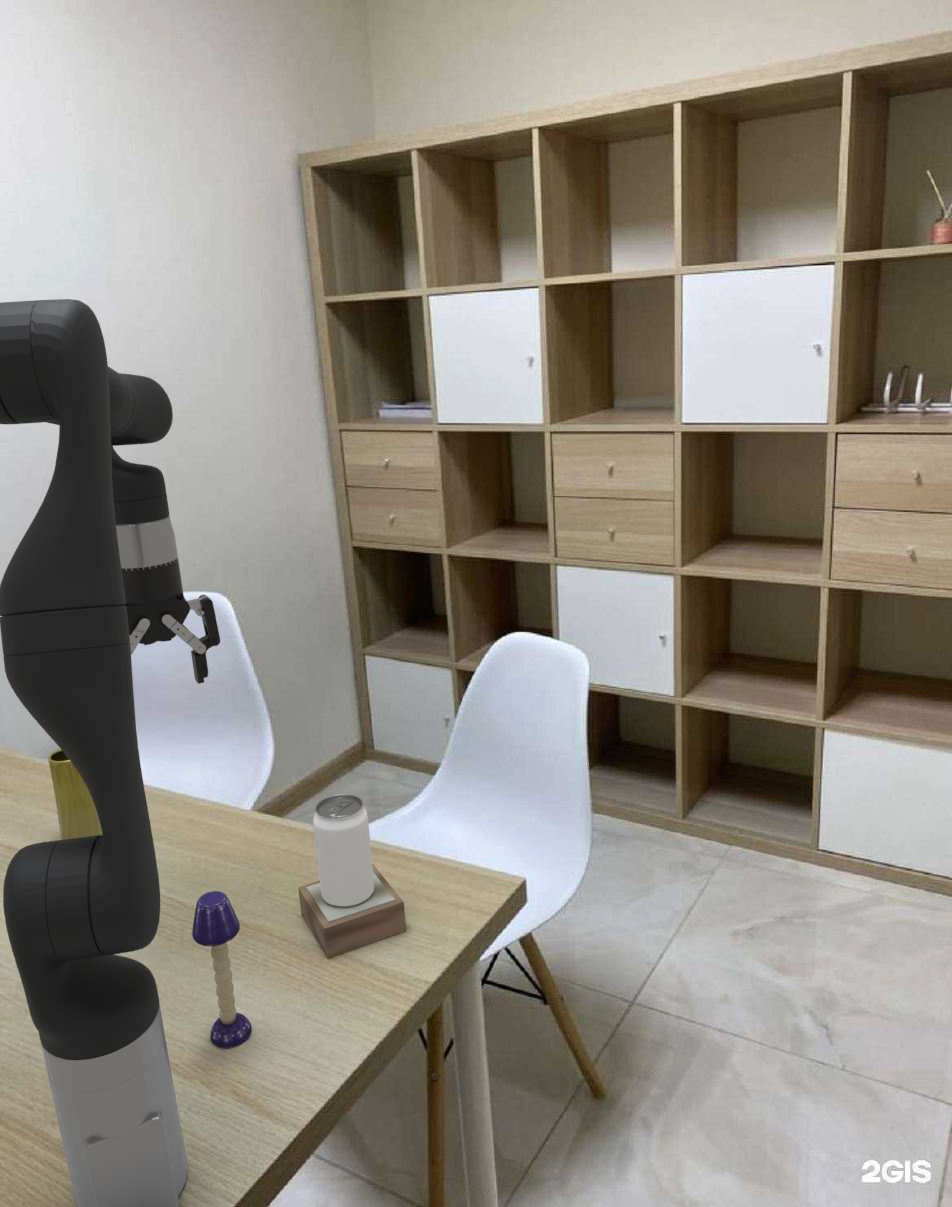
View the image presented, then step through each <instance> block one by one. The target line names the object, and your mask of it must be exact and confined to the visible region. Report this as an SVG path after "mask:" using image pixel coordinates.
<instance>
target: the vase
mask: <svg viewBox="0 0 952 1207" xmlns="http://www.w3.org/2000/svg"><path fill="white" fill-rule="evenodd" d="M48 765H49V769H50V770H49V771H50V774H51V780H52V786H53V787H52V788H53V792H54V797H55V798H54V800H55V804H56V810H57V811H56V813H57V819H58V825H59V831H60V832H59V833H60V837H61V838H60V840H65V839H73V838H80V837H88V836H96V835H103V834H102V829H101V825H100V821H99V818H98V814H97V811H96V808H95V805H94V802H93V799H92V797H91V795H90V793H89V790H88V788H87V786H86V784H85V782H84V781H83V779H82V777H81V776H80V774H79V773H78V771H77V769H76V768H75V767H74V765H73V764H72V762H71V761H70V760H69V758H68V757H67V756H66V755H65V753H64V752H63V751H62V750H61V748H59V749H57V750H55V751H53V752H51V753H50V754H49V755H48Z"/></svg>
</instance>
